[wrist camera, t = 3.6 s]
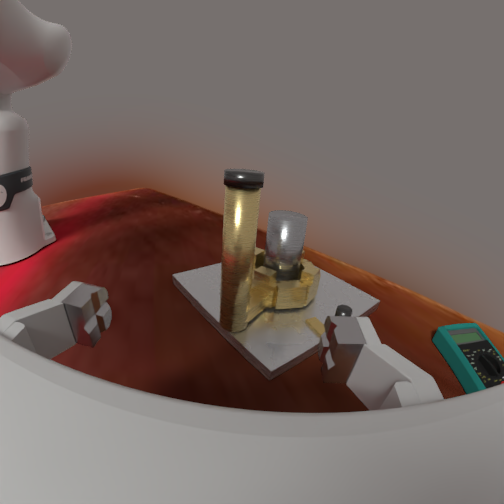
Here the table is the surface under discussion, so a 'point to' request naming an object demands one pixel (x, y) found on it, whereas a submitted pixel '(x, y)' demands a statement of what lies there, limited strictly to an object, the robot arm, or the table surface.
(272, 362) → the spigot base
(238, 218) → the brass metal fixture
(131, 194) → the table surface
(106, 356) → the table surface
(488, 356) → the digital multimeter
